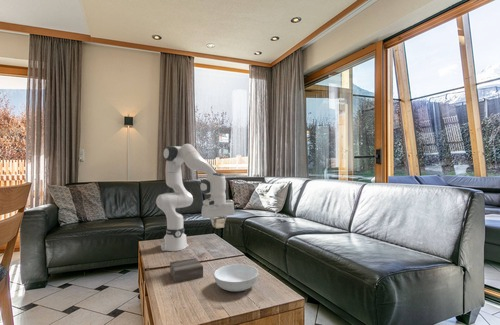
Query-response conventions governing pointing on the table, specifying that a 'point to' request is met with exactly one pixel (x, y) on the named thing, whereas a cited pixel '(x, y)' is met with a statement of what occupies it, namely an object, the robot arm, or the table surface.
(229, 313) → the table surface
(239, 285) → the serving bowl
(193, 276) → the charcoal riser block
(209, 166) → the robot arm
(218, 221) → the birch cube
